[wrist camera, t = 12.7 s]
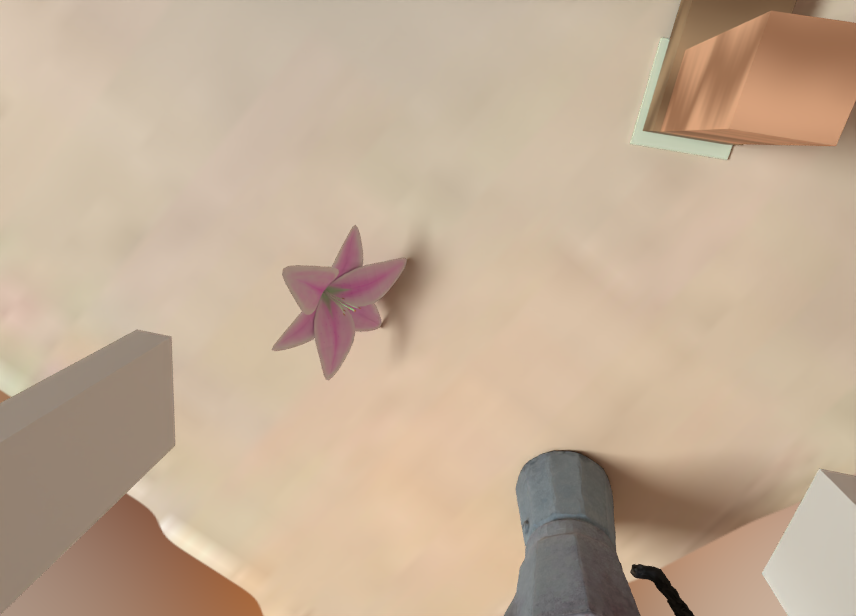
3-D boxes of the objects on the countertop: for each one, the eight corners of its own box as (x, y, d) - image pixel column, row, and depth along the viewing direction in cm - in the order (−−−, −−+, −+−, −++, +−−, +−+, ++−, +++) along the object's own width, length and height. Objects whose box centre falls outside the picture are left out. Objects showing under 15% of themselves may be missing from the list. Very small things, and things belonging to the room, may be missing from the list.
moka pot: (482, 444, 46) (476, 656, 27) (652, 442, 43) (774, 671, 25) (488, 523, 49) (487, 762, 30) (647, 525, 46) (753, 785, 28)
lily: (332, 360, 46) (357, 413, 38) (223, 293, 40) (225, 340, 32) (410, 264, 46) (453, 296, 37) (313, 182, 40) (338, 199, 31)
